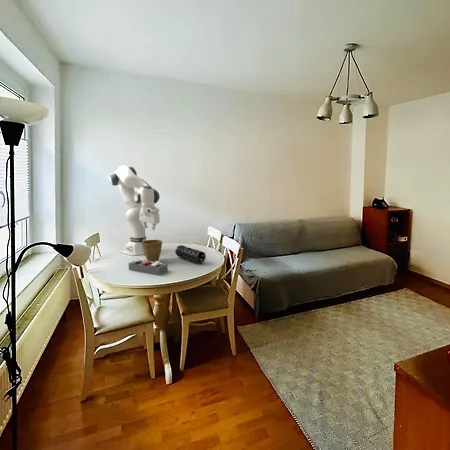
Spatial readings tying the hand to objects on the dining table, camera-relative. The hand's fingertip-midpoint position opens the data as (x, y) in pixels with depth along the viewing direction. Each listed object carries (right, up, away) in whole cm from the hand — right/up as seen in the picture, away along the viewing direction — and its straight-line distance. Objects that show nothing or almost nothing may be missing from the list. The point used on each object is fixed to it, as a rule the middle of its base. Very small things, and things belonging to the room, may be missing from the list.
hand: (149, 228), depth 210 cm
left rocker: (-9, -23, +1) cm, 25 cm away
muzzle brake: (+25, -26, +24) cm, 43 cm away
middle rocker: (-2, -24, -2) cm, 24 cm away
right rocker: (+6, -25, -6) cm, 26 cm away
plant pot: (-3, -26, +20) cm, 33 cm away
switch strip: (-1, -29, 0) cm, 29 cm away
